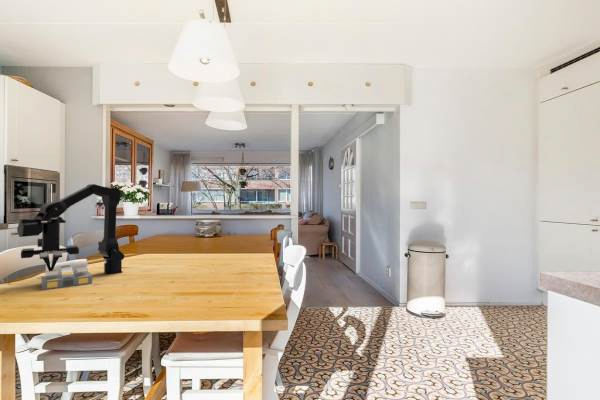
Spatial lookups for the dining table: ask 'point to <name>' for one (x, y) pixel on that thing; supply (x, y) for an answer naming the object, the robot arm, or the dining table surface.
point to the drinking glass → (73, 263)
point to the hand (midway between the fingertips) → (50, 272)
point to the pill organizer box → (65, 280)
